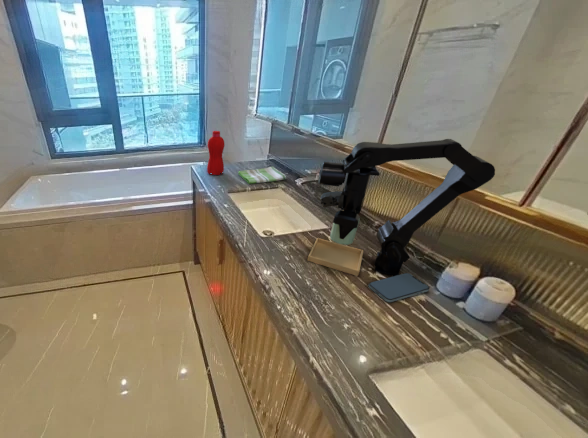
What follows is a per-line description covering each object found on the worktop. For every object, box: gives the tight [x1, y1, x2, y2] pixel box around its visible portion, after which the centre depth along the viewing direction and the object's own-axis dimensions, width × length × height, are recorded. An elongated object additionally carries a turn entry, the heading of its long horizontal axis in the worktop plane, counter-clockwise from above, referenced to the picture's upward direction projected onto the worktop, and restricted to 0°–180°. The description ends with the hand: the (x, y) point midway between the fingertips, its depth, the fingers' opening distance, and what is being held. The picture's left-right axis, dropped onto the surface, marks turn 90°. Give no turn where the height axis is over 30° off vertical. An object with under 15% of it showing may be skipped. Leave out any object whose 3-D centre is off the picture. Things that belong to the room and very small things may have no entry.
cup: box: [329, 218, 361, 246], centre depth 89 cm, size 7×7×8 cm
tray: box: [307, 237, 364, 277], centre depth 96 cm, size 15×13×2 cm
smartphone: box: [367, 272, 430, 303], centre depth 82 cm, size 8×2×15 cm
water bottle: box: [206, 130, 225, 176], centre depth 167 cm, size 9×11×25 cm
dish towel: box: [237, 166, 287, 185], centre depth 164 cm, size 17×23×4 cm
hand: (343, 233), depth 90 cm, fingers closed on cup, 7 cm apart
